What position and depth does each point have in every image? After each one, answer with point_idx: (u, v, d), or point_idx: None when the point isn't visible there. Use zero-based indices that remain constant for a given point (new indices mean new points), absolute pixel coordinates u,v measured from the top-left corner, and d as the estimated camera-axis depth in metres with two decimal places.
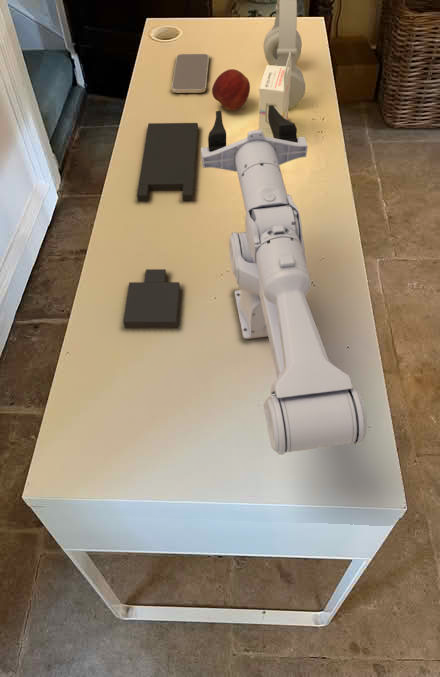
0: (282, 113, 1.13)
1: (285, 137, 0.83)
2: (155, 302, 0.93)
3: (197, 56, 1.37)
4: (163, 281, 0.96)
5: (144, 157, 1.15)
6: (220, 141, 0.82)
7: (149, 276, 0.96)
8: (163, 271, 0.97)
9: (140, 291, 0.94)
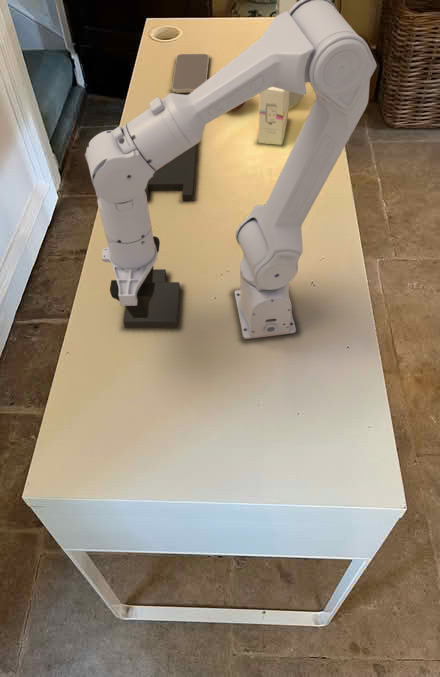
0: (282, 113, 1.13)
1: None
2: (155, 302, 0.93)
3: (197, 56, 1.37)
4: (163, 281, 0.96)
5: None
6: None
7: None
8: (163, 271, 0.97)
9: None
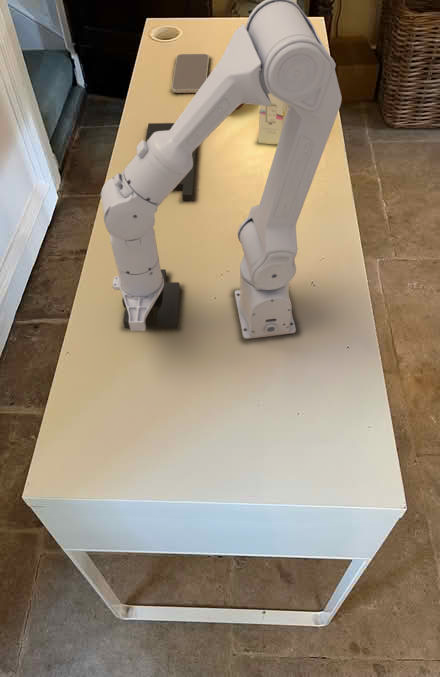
0: (282, 113, 1.13)
1: None
2: None
3: (197, 56, 1.37)
4: None
5: None
6: None
7: None
8: (163, 271, 0.97)
9: None
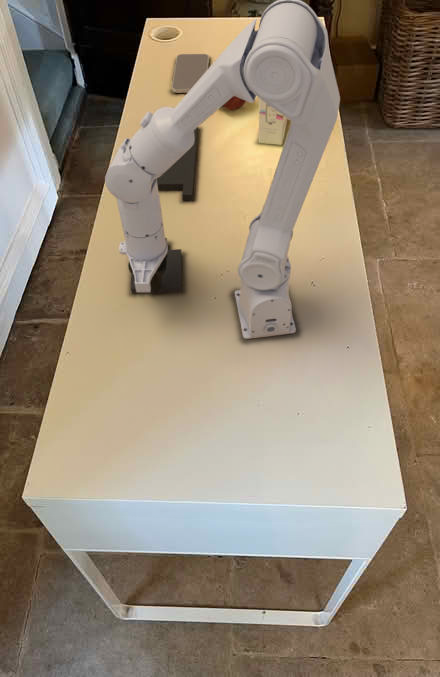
0: None
1: None
2: None
3: (197, 56, 1.37)
4: None
5: None
6: None
7: None
8: None
9: None
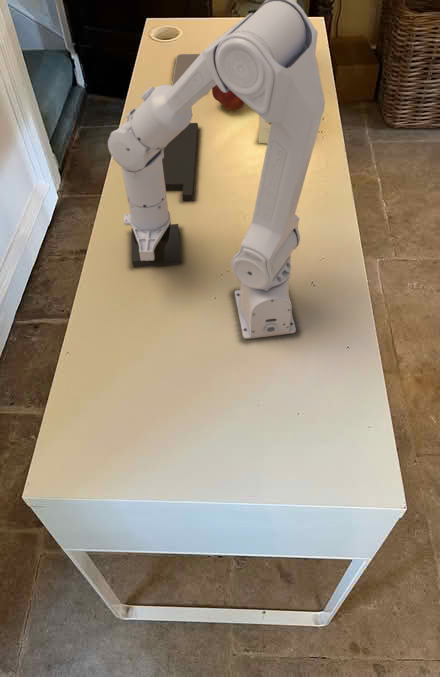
0: None
1: None
2: None
3: (197, 56, 1.37)
4: None
5: None
6: None
7: None
8: None
9: None
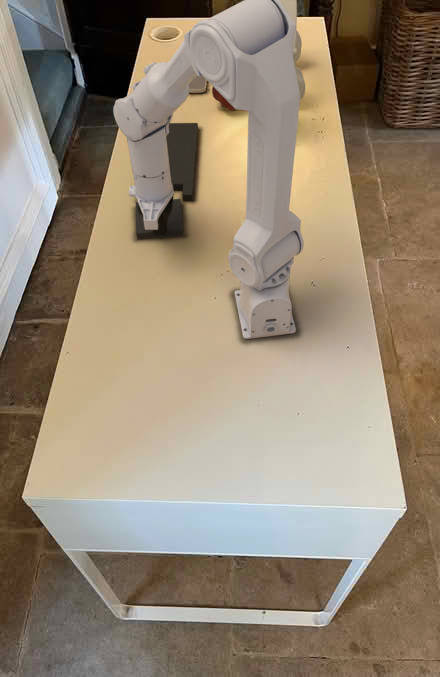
0: None
1: None
2: None
3: None
4: None
5: None
6: None
7: None
8: None
9: None
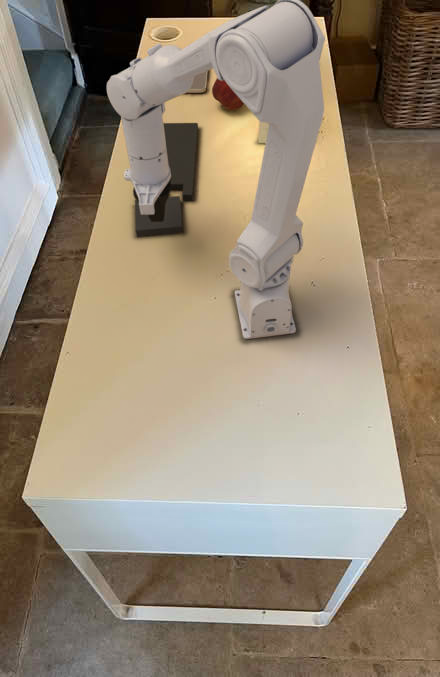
0: None
1: None
2: None
3: None
4: None
5: None
6: None
7: None
8: None
9: None
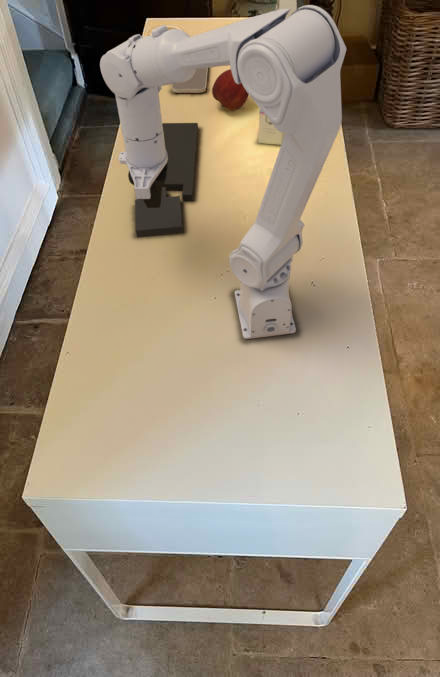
0: None
1: None
2: (161, 213, 1.05)
3: None
4: (165, 196, 1.08)
5: None
6: None
7: None
8: (164, 188, 1.09)
9: None
